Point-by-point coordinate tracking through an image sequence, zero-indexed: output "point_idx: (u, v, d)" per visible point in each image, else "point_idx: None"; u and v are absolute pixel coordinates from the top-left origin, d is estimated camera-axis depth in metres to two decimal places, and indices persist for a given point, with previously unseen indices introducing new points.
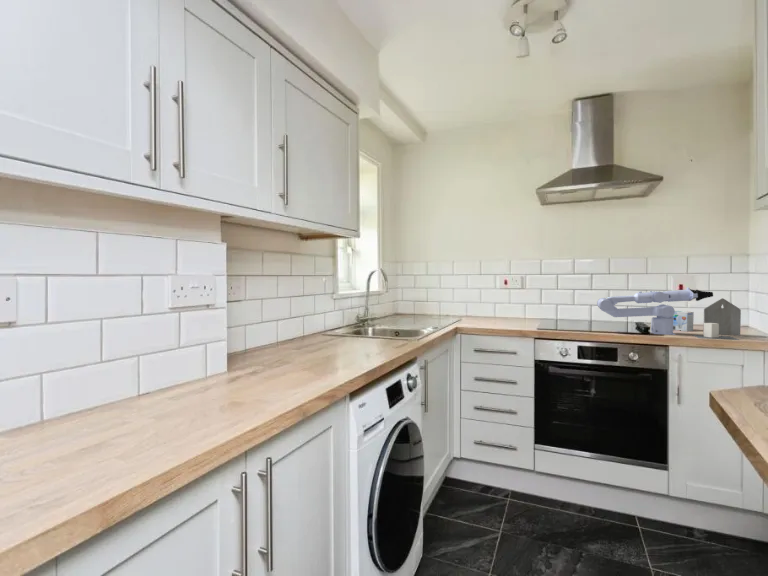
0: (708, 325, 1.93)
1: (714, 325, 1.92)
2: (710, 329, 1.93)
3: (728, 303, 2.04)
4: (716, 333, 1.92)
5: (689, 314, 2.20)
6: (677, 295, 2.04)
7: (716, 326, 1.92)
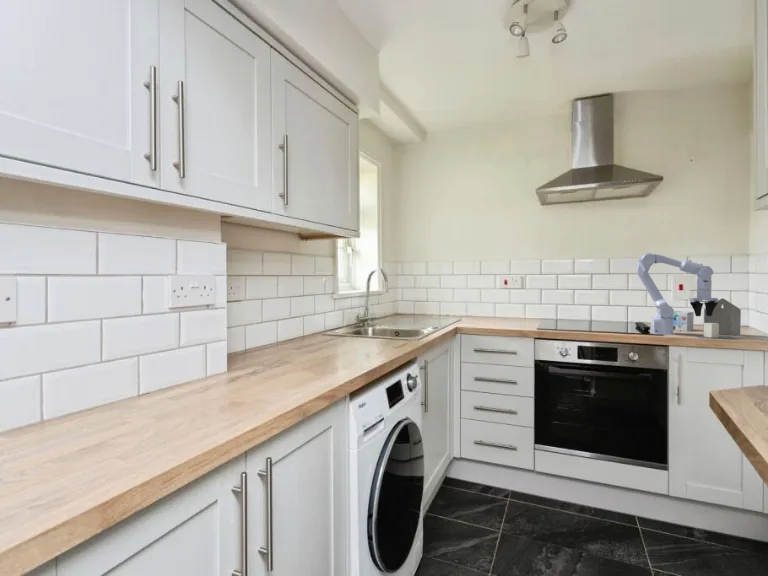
0: (708, 325, 1.93)
1: (714, 325, 1.92)
2: (710, 329, 1.93)
3: (728, 303, 2.04)
4: (716, 333, 1.92)
5: (689, 314, 2.20)
6: (706, 287, 1.98)
7: (716, 326, 1.92)
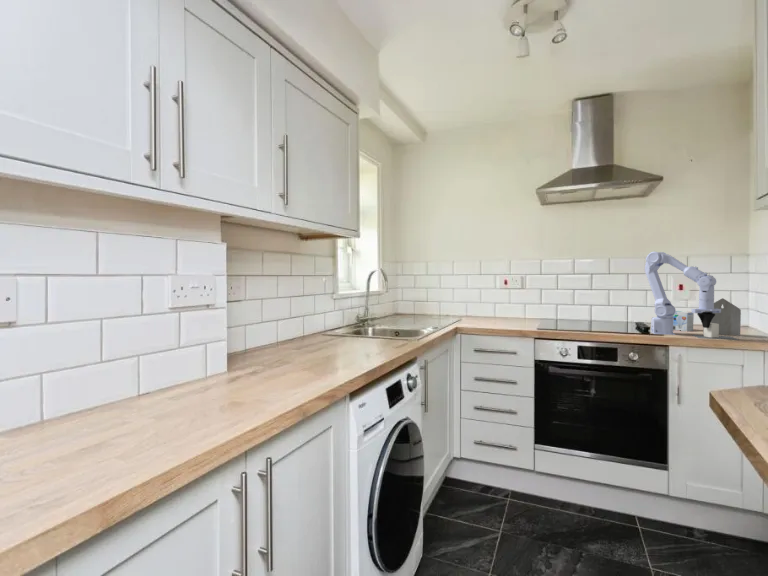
0: None
1: (714, 325, 1.92)
2: (710, 329, 1.93)
3: (728, 303, 2.04)
4: (716, 332, 1.92)
5: (689, 314, 2.20)
6: (704, 298, 1.92)
7: (716, 326, 1.92)
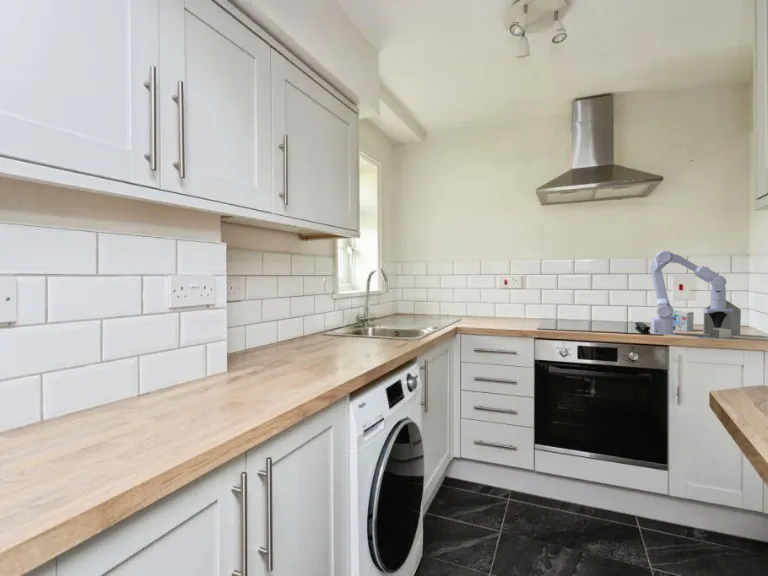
0: (726, 329, 1.95)
1: (729, 332, 1.93)
2: (724, 329, 1.94)
3: (728, 303, 2.04)
4: (723, 334, 1.93)
5: (689, 314, 2.20)
6: (718, 298, 1.92)
7: (728, 335, 1.93)
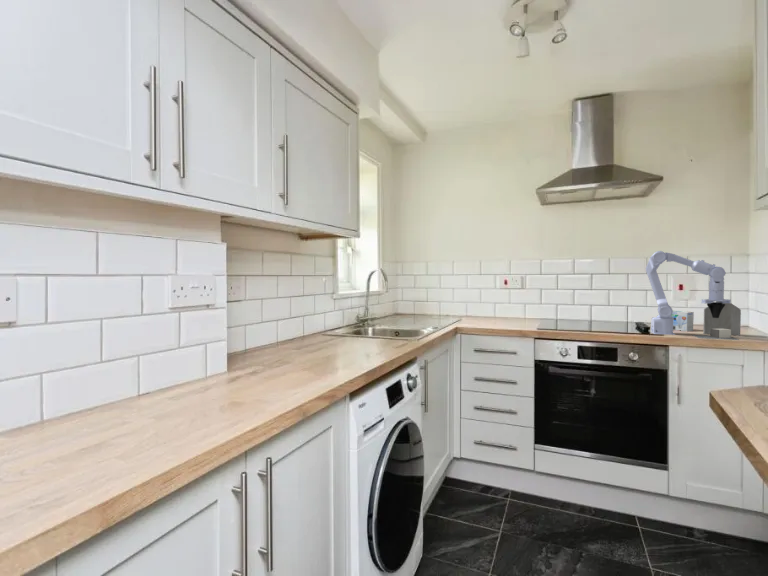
0: (726, 329, 1.95)
1: (729, 332, 1.93)
2: (724, 329, 1.94)
3: (728, 303, 2.04)
4: (723, 334, 1.93)
5: (689, 314, 2.20)
6: (718, 289, 1.94)
7: (728, 335, 1.93)
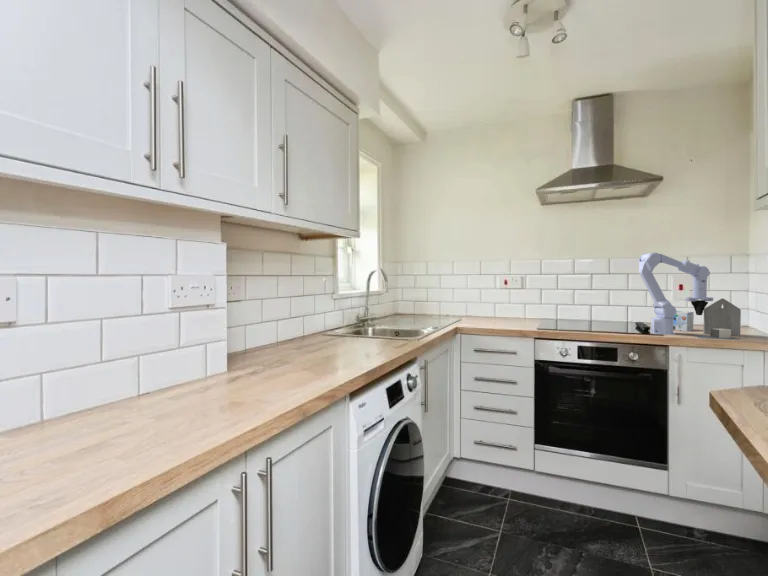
0: (726, 329, 1.95)
1: (729, 332, 1.93)
2: (724, 329, 1.94)
3: (728, 303, 2.04)
4: (723, 334, 1.93)
5: (689, 314, 2.20)
6: (704, 287, 2.03)
7: (728, 335, 1.93)
